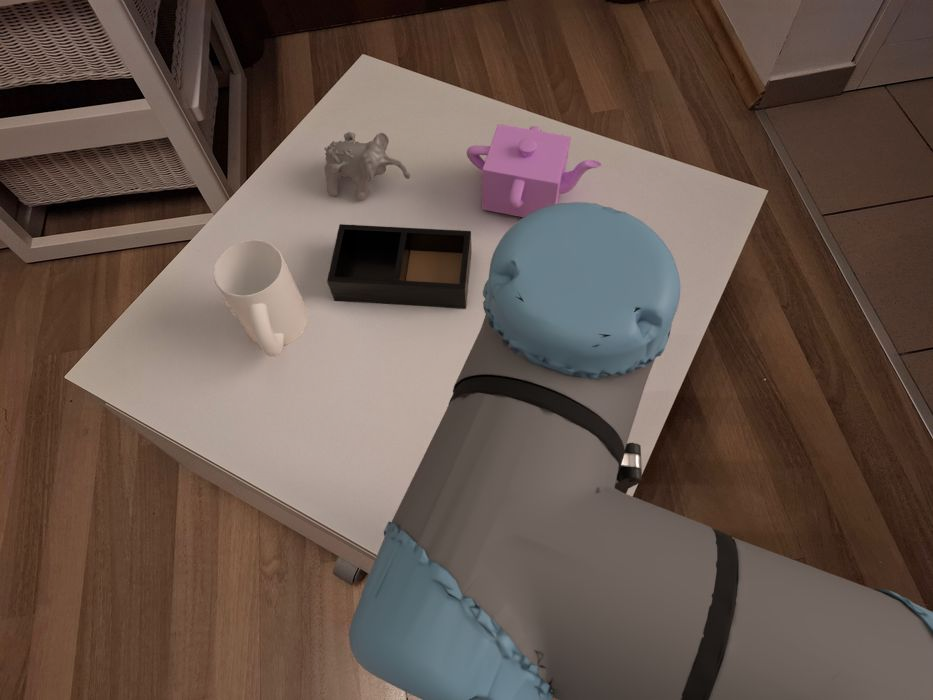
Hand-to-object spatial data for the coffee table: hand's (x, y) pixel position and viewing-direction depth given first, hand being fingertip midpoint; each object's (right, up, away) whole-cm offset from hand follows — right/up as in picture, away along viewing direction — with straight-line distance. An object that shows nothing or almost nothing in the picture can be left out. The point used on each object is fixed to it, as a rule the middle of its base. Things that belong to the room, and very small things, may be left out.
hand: (525, 517), depth 58 cm
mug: (-29, +17, +25) cm, 42 cm away
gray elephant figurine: (-19, +39, +37) cm, 57 cm away
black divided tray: (-14, +25, +29) cm, 41 cm away
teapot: (+3, +36, +35) cm, 50 cm away
